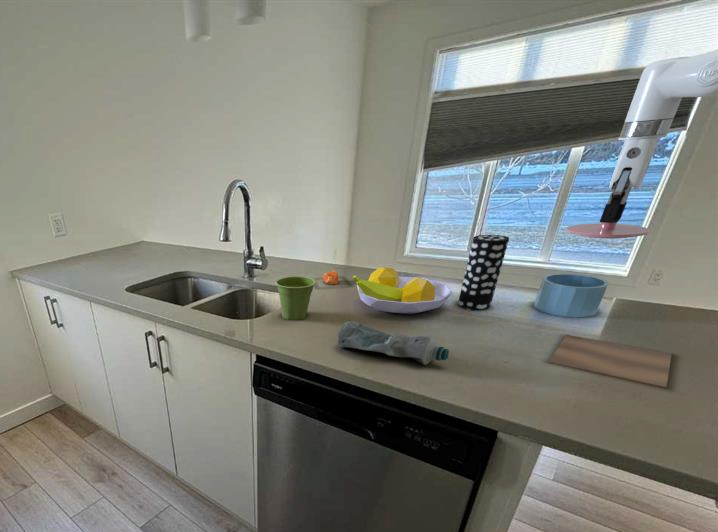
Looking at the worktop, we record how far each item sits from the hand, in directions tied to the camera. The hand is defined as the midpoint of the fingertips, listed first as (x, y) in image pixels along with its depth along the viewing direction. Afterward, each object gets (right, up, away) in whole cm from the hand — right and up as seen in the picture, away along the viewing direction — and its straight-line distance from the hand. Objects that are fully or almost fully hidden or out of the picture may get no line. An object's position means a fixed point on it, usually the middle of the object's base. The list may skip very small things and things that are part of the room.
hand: (609, 220), depth 96 cm
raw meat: (-50, -1, +55) cm, 74 cm away
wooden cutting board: (-8, -34, -8) cm, 36 cm away
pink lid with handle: (0, -2, +1) cm, 2 cm away
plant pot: (-69, -18, +30) cm, 77 cm away
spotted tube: (-16, -16, +25) cm, 34 cm away
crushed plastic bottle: (-52, -32, +3) cm, 61 cm away
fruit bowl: (-37, -15, +30) cm, 50 cm away
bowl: (+4, -18, +18) cm, 26 cm away
